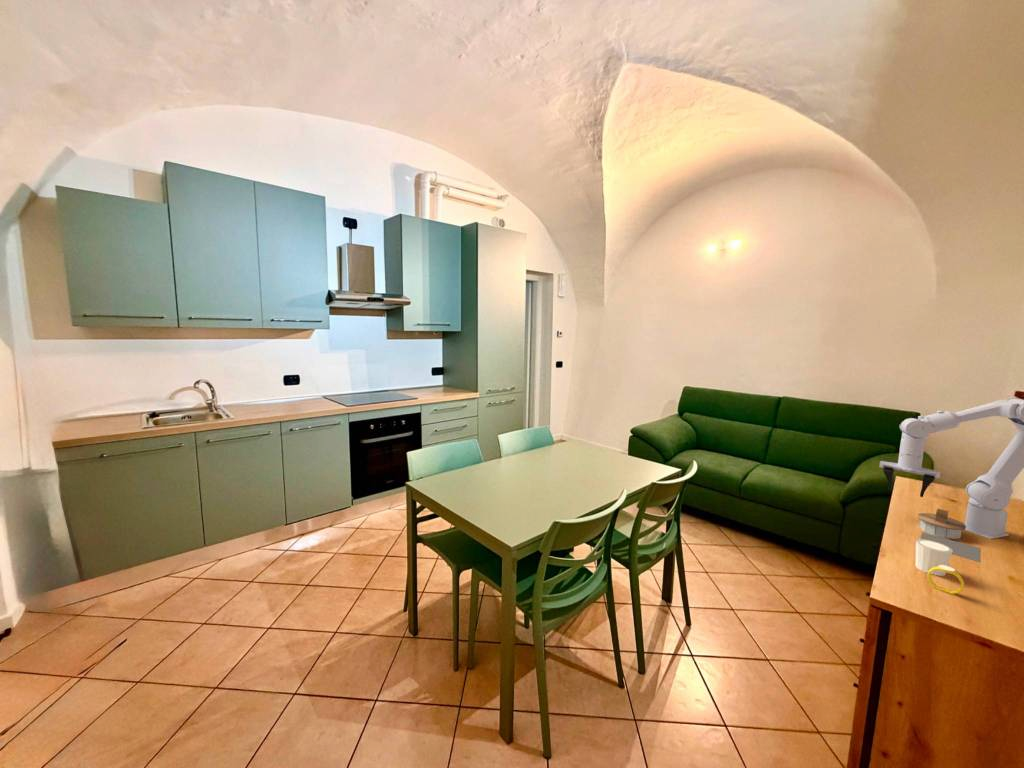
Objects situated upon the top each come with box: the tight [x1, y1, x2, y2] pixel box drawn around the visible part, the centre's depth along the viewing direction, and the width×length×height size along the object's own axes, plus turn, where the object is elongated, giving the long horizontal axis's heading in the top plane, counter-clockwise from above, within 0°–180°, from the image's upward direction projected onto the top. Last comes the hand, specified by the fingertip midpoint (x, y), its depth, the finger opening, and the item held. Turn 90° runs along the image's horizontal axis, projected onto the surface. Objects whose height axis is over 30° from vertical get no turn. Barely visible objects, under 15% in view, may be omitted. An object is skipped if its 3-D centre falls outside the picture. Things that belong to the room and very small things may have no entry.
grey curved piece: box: [919, 519, 963, 540], centre depth 128 cm, size 9×9×4 cm
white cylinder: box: [915, 538, 953, 577], centre depth 106 cm, size 7×7×7 cm
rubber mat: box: [919, 532, 981, 563], centre depth 119 cm, size 12×12×1 cm
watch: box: [927, 565, 965, 595], centre depth 98 cm, size 6×3×6 cm, turn 38°
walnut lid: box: [917, 508, 966, 531], centre depth 127 cm, size 10×10×4 cm
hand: (905, 492), depth 136 cm, fingers open, 7 cm apart
